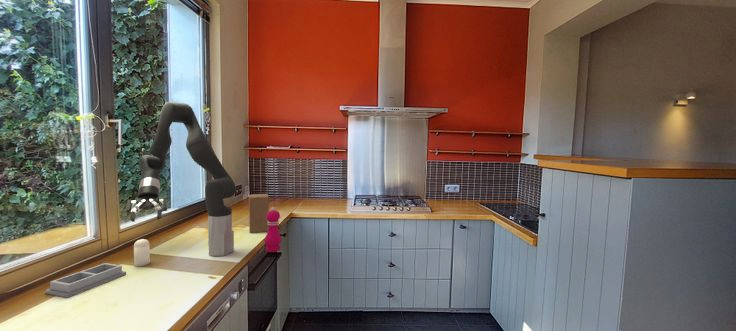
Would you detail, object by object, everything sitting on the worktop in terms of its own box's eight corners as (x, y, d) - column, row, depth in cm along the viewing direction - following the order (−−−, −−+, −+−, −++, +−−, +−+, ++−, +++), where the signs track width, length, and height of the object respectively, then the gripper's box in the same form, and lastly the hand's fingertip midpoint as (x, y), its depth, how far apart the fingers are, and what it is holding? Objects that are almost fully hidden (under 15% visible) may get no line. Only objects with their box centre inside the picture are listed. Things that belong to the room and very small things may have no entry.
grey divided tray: (126, 274, 102) (125, 265, 102) (67, 297, 86) (66, 286, 85) (106, 271, 104) (106, 261, 104) (45, 293, 88) (44, 282, 88)
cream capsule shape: (152, 262, 113) (152, 238, 112) (140, 267, 108) (140, 241, 108) (143, 260, 114) (142, 236, 114) (131, 265, 109) (130, 240, 109)
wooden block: (268, 231, 157) (268, 196, 156) (249, 233, 154) (249, 197, 152) (267, 227, 167) (267, 193, 165) (249, 228, 163) (249, 194, 162)
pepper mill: (284, 248, 132) (284, 206, 131) (274, 253, 125) (274, 209, 124) (271, 246, 134) (271, 205, 133) (261, 251, 128) (261, 207, 126)
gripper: (128, 185, 123) (122, 216, 114) (167, 184, 131) (165, 213, 122) (130, 195, 128) (125, 226, 119) (168, 193, 135) (166, 222, 126)
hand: (145, 219), depth 120 cm, fingers open, 8 cm apart
